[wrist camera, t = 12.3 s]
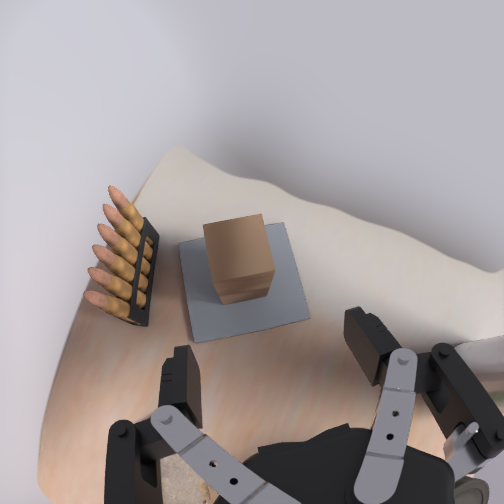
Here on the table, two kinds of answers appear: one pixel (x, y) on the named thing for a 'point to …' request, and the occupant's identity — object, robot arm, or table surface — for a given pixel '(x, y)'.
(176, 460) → the rock
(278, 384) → the table surface
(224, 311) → the slate mat
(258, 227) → the walnut block
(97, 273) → the ammunition clip
